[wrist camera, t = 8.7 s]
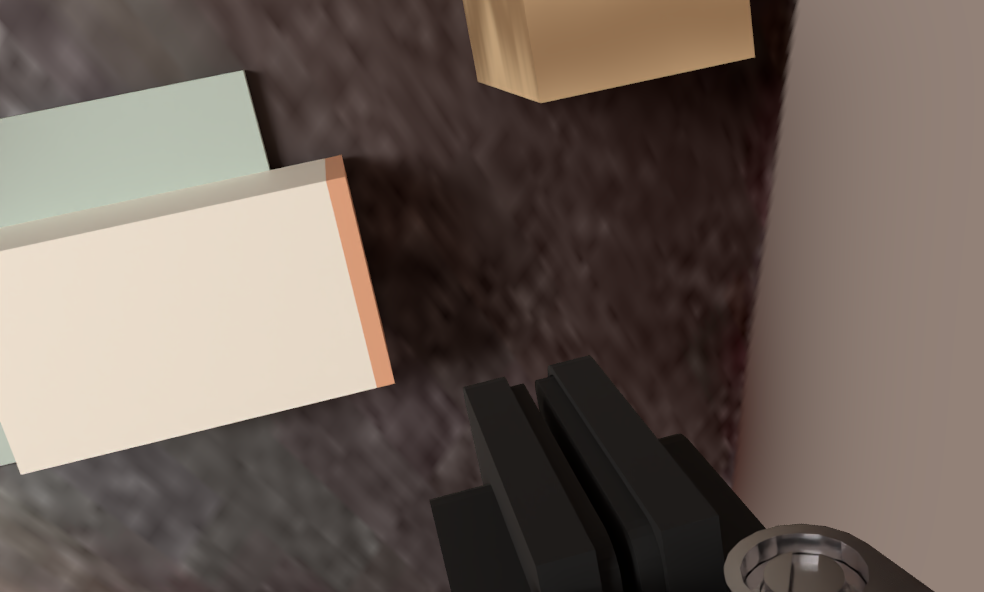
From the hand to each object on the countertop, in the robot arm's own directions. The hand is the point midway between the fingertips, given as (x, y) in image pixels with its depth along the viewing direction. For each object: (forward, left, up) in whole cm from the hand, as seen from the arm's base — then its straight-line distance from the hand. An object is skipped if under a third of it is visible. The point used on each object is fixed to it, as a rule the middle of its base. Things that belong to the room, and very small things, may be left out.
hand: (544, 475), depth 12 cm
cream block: (+2, -2, -20) cm, 21 cm away
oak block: (-6, +7, -23) cm, 25 cm away
